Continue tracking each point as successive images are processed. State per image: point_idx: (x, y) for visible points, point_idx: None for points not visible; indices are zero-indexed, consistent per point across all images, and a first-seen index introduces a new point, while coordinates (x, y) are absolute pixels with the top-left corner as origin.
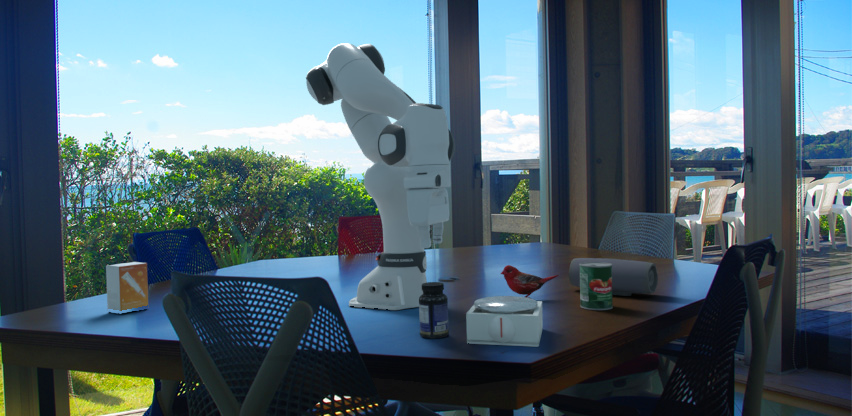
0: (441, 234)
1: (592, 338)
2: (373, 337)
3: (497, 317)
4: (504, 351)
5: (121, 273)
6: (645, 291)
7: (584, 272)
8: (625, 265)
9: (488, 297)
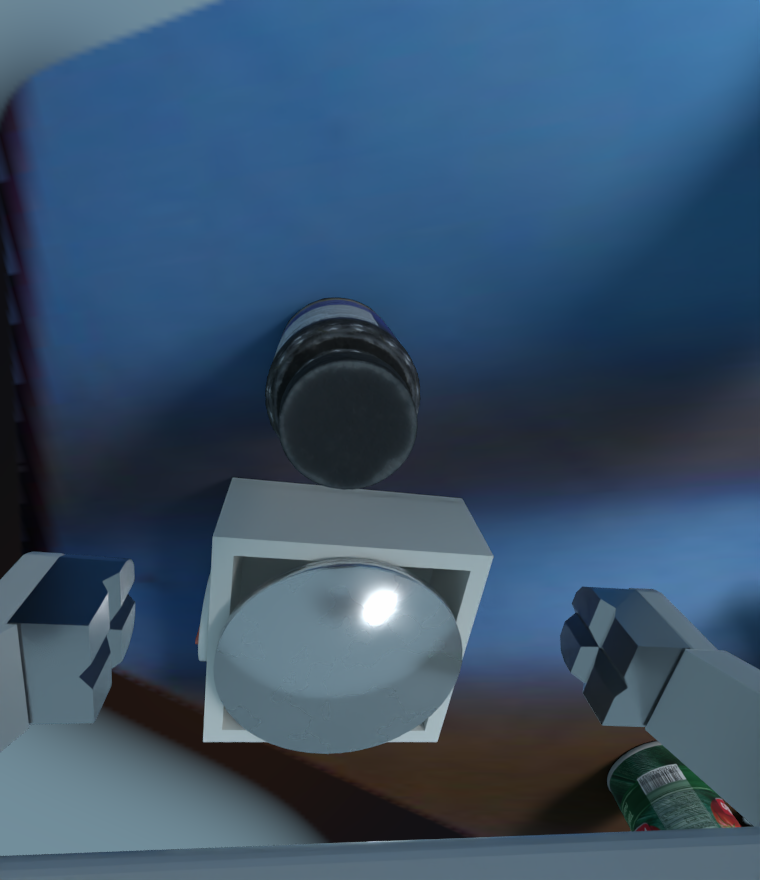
0: (654, 735)
1: (318, 757)
2: (291, 61)
3: (199, 632)
4: (159, 583)
5: None
6: None
7: None
8: None
9: (439, 609)
